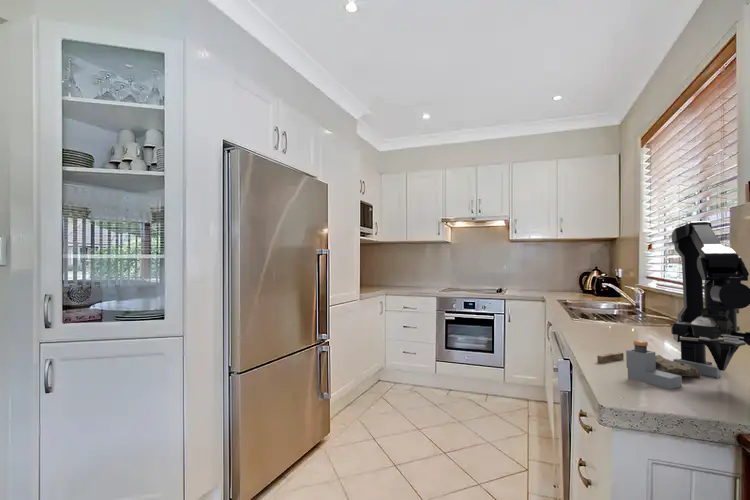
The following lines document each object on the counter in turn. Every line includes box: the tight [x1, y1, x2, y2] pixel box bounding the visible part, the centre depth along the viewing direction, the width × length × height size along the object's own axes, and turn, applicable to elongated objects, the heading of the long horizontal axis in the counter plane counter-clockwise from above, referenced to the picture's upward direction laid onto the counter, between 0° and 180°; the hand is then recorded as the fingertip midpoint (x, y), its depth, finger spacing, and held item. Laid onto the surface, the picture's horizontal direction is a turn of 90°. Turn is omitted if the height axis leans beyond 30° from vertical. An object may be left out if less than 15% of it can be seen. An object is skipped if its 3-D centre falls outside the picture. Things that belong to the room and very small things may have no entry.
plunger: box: [633, 340, 648, 353], centre depth 100 cm, size 3×3×6 cm
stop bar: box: [596, 351, 625, 364], centre depth 118 cm, size 10×1×2 cm, turn 116°
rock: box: [655, 354, 702, 378], centre depth 104 cm, size 11×12×4 cm
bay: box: [625, 348, 721, 390], centre depth 101 cm, size 22×10×7 cm, turn 115°
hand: (721, 370), depth 93 cm, fingers closed
